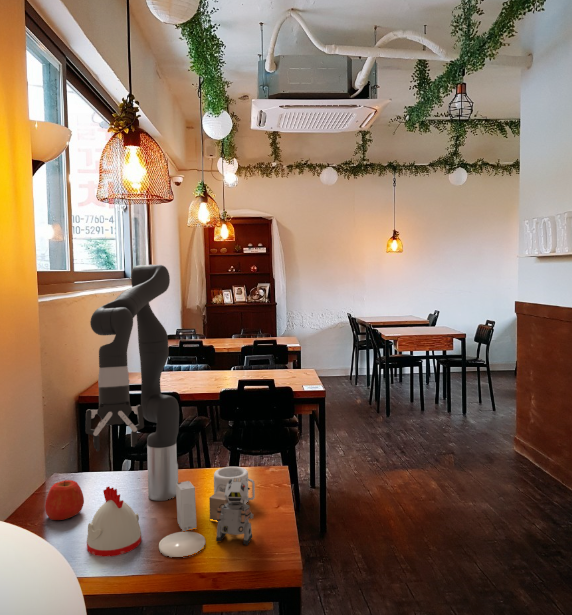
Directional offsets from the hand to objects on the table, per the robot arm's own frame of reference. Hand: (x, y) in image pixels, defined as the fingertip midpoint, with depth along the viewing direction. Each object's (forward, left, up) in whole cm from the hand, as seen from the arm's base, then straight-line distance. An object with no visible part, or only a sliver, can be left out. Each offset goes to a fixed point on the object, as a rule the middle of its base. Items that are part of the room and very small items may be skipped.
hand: (115, 448), depth 135 cm
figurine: (-18, +25, -28) cm, 42 cm away
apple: (-12, -29, -28) cm, 42 cm away
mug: (-38, +15, -28) cm, 49 cm away
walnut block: (-27, +16, -28) cm, 42 cm away
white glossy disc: (-9, +14, -27) cm, 32 cm away
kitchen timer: (-4, -4, -28) cm, 28 cm away
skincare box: (-19, +9, -28) cm, 35 cm away
